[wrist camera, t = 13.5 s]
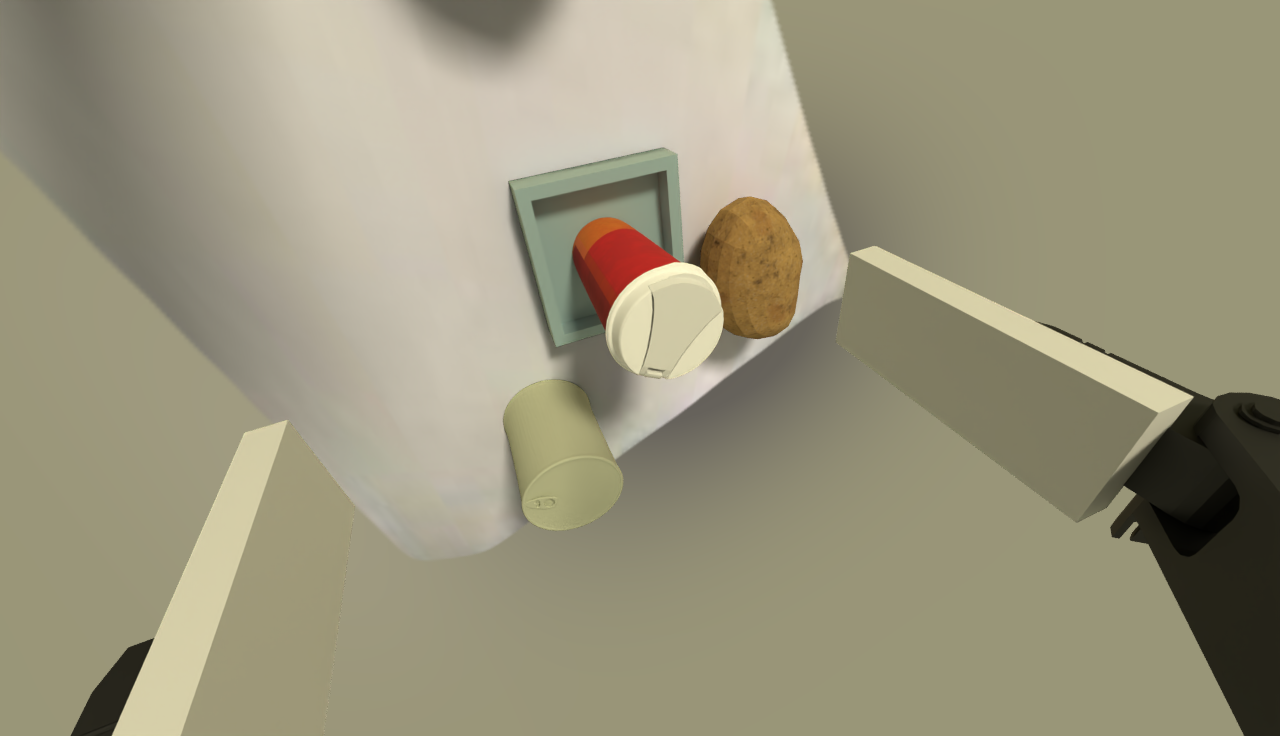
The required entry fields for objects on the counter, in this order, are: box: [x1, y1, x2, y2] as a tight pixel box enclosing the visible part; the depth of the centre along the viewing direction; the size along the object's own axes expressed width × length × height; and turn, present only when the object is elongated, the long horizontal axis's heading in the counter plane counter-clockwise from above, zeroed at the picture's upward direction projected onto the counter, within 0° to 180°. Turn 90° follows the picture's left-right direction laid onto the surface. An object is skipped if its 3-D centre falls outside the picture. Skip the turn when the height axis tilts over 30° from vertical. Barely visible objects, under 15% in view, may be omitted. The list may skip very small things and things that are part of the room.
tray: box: [509, 148, 684, 347], centre depth 41 cm, size 14×13×3 cm
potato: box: [700, 197, 803, 339], centre depth 45 cm, size 10×14×8 cm
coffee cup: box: [572, 217, 724, 379], centre depth 36 cm, size 8×8×15 cm
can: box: [503, 380, 623, 531], centre depth 46 cm, size 9×9×12 cm
